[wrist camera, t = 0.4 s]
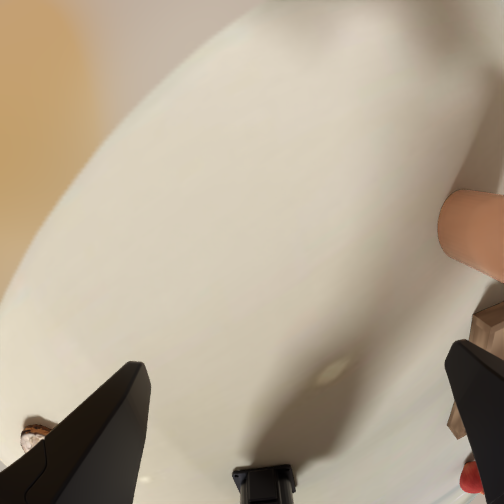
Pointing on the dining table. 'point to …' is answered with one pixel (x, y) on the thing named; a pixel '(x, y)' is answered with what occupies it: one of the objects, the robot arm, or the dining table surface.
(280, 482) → the robot arm
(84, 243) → the dining table surface
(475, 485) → the onion
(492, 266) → the terracotta cylinder
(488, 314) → the box
